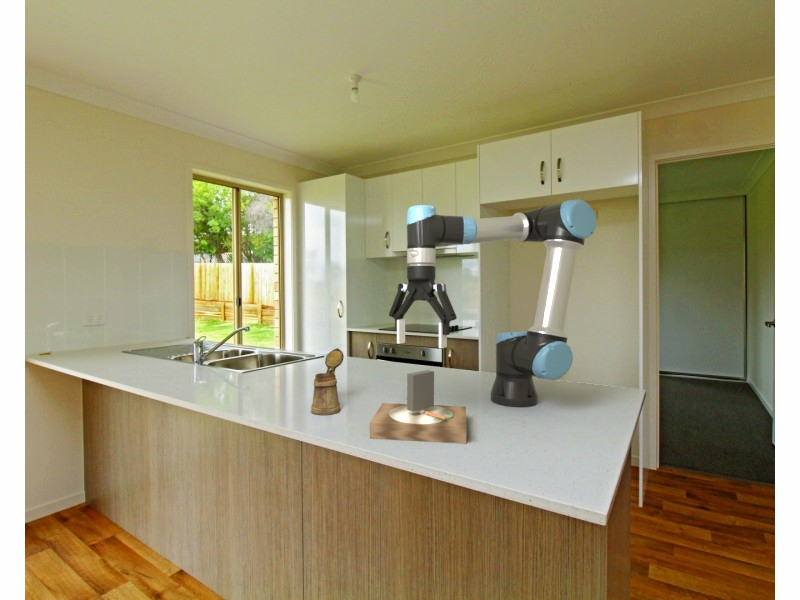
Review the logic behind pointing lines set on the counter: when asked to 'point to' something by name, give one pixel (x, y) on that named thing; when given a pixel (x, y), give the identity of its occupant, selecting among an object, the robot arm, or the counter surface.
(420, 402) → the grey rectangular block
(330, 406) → the wooden mug
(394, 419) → the board
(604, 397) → the counter surface
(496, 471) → the counter surface
